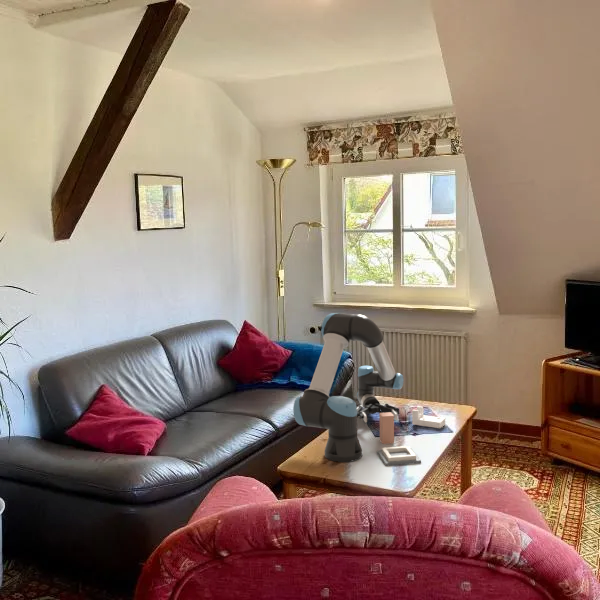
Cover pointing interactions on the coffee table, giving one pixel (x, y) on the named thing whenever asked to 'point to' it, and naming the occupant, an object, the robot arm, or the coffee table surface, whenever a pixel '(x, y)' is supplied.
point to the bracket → (426, 419)
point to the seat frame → (398, 455)
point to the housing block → (386, 427)
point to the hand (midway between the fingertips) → (381, 418)
